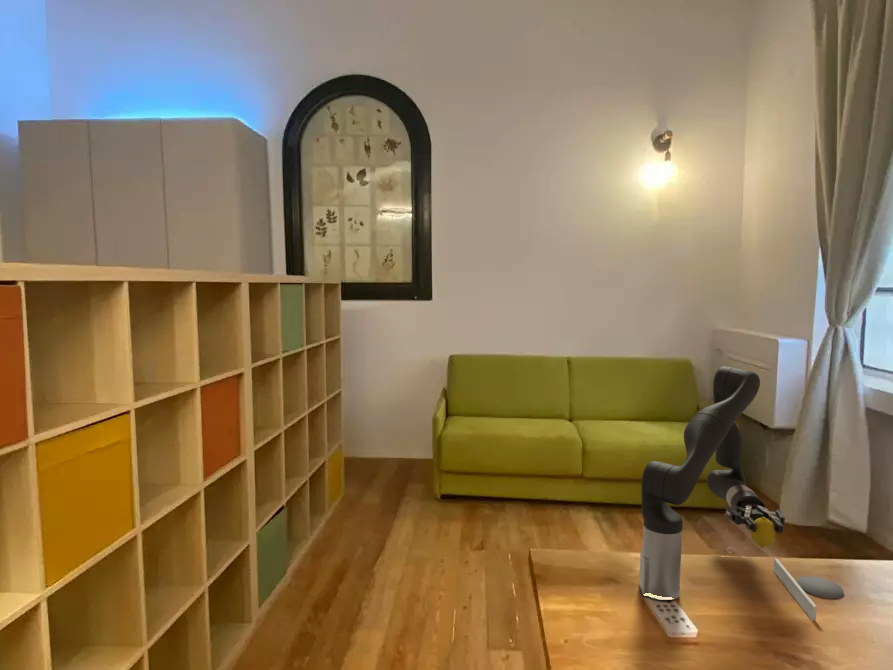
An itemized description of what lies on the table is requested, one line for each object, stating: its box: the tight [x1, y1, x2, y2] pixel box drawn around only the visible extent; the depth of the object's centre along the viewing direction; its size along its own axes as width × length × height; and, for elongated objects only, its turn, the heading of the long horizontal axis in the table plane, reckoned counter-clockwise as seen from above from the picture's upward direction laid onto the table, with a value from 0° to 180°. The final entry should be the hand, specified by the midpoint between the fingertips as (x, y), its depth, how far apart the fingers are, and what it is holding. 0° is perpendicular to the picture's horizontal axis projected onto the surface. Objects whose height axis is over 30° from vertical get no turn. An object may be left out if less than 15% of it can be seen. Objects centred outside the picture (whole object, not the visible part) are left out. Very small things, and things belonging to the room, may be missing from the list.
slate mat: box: [797, 575, 844, 600], centre depth 159 cm, size 10×10×1 cm
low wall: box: [772, 558, 818, 622], centre depth 156 cm, size 1×24×4 cm, turn 172°
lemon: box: [750, 517, 776, 549], centre depth 156 cm, size 6×6×8 cm
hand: (767, 529), depth 153 cm, fingers closed on lemon, 5 cm apart
